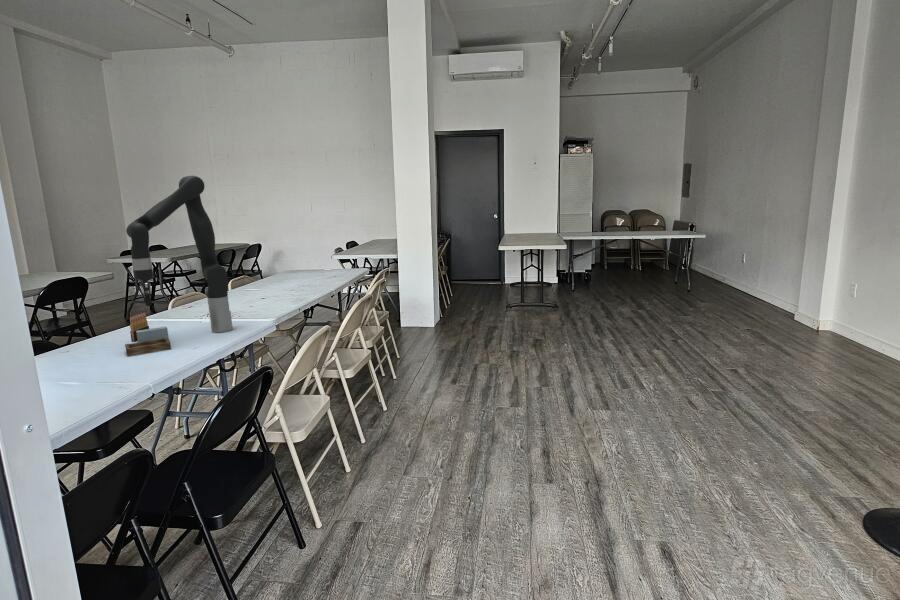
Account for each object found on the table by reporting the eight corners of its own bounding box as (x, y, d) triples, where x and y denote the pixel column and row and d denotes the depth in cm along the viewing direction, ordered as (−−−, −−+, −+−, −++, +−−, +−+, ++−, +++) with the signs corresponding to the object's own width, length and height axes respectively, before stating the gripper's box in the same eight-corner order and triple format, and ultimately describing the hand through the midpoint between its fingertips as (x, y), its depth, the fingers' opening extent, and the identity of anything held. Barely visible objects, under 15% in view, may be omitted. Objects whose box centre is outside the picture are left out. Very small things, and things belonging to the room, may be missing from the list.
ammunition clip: (135, 341, 237) (131, 316, 235) (131, 341, 237) (127, 316, 235) (150, 335, 247) (147, 311, 245) (147, 335, 248) (143, 311, 245)
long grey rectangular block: (168, 340, 237) (166, 326, 236) (169, 342, 234) (167, 328, 233) (138, 345, 231) (136, 330, 229) (139, 347, 227) (136, 332, 226)
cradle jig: (168, 344, 231) (167, 337, 230) (171, 349, 223) (170, 342, 222) (126, 351, 221) (124, 344, 221) (127, 356, 214) (126, 349, 213)
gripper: (154, 269, 222) (159, 305, 225) (150, 266, 233) (155, 300, 236) (134, 270, 218) (139, 307, 221) (131, 267, 229) (137, 302, 232)
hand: (148, 304), depth 229 cm, fingers open, 8 cm apart
